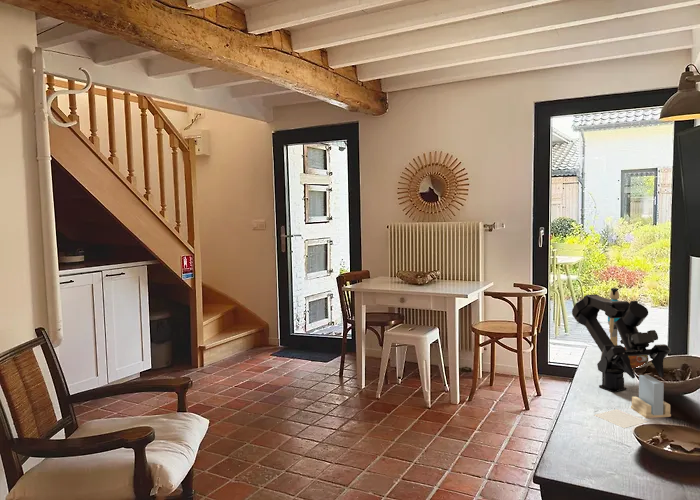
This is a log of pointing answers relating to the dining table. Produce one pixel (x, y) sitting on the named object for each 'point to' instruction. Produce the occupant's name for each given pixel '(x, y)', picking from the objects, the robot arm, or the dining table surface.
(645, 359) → the tin
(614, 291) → the figurine
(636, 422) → the mat
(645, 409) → the rack
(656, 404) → the pale grey upright block
